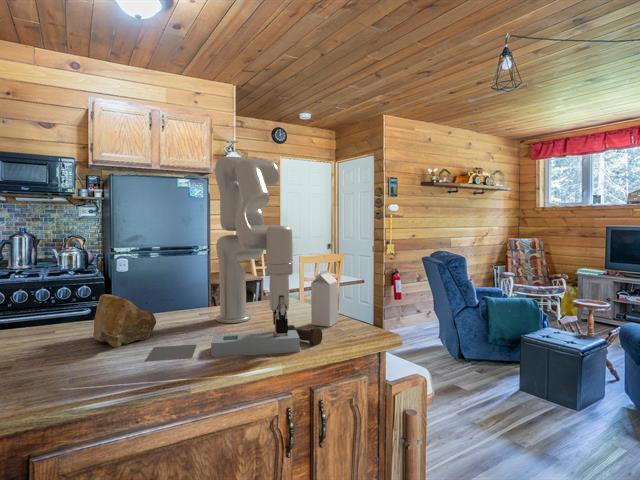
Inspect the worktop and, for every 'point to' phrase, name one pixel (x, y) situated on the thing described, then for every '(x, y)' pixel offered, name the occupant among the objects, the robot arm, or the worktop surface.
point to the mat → (171, 352)
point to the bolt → (309, 334)
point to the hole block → (254, 343)
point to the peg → (275, 329)
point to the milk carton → (324, 300)
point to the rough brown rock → (121, 321)
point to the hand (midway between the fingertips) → (280, 328)
